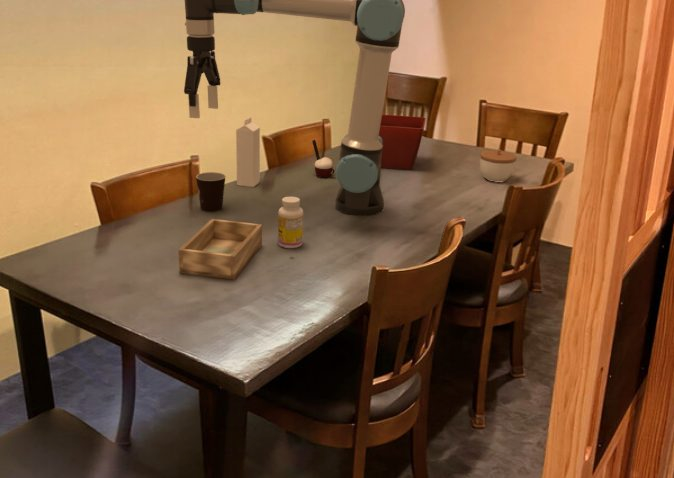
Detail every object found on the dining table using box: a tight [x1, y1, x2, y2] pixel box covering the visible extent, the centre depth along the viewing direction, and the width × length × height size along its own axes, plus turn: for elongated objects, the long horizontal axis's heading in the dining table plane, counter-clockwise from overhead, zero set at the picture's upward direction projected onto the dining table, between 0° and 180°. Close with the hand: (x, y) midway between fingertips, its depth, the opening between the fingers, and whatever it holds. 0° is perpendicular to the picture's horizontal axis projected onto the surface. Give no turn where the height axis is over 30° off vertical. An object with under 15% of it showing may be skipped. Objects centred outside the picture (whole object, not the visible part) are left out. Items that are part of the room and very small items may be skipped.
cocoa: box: [312, 139, 335, 179], centre depth 246 cm, size 10×6×12 cm, turn 32°
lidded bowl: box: [479, 149, 517, 181], centre depth 251 cm, size 13×13×11 cm
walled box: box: [178, 218, 263, 281], centre depth 177 cm, size 14×22×6 cm, turn 169°
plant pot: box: [379, 113, 427, 171], centre depth 262 cm, size 19×19×17 cm
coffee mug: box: [195, 171, 226, 213], centre depth 212 cm, size 12×9×10 cm
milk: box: [235, 117, 261, 188], centre depth 232 cm, size 6×6×22 cm
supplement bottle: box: [277, 196, 304, 249], centre depth 187 cm, size 7×7×13 cm
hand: (204, 113), depth 200 cm, fingers open, 13 cm apart
